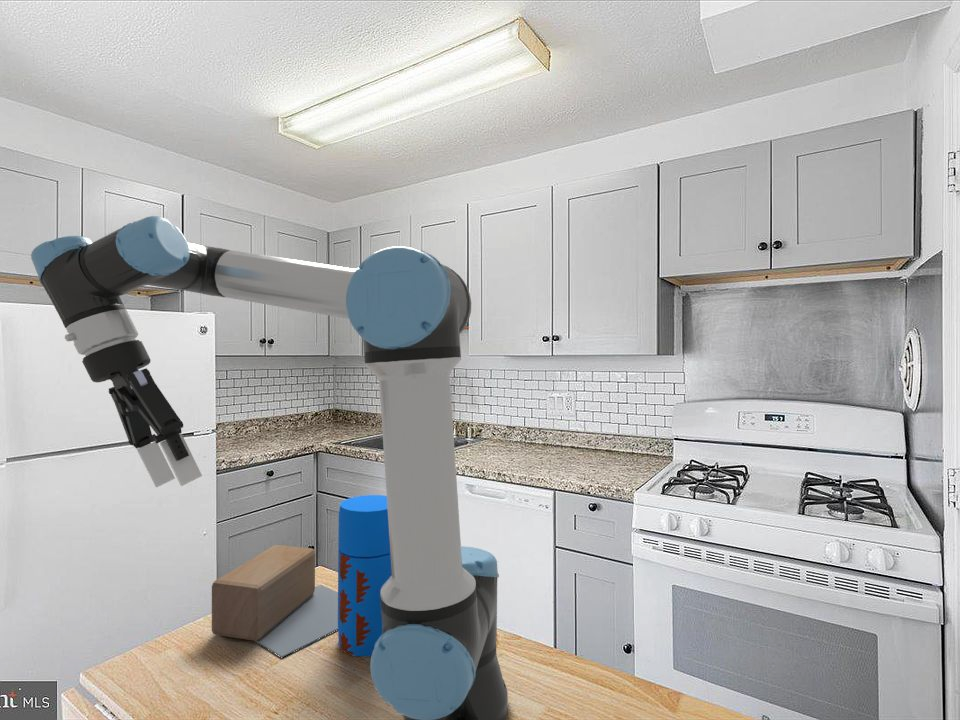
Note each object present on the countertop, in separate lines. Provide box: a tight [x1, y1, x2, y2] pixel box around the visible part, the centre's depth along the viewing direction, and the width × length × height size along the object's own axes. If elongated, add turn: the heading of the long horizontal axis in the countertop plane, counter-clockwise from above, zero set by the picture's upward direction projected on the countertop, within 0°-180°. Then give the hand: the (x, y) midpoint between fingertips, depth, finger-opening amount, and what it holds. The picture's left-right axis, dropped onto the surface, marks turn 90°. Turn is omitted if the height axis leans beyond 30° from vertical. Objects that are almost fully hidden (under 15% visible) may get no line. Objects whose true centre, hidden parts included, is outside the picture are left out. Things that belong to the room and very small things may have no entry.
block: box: [211, 544, 316, 642], centre depth 105 cm, size 10×10×20 cm
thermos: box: [337, 494, 392, 658], centre depth 97 cm, size 11×11×25 cm
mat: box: [252, 584, 338, 658], centre depth 105 cm, size 18×21×1 cm
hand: (178, 482), depth 78 cm, fingers open, 13 cm apart
